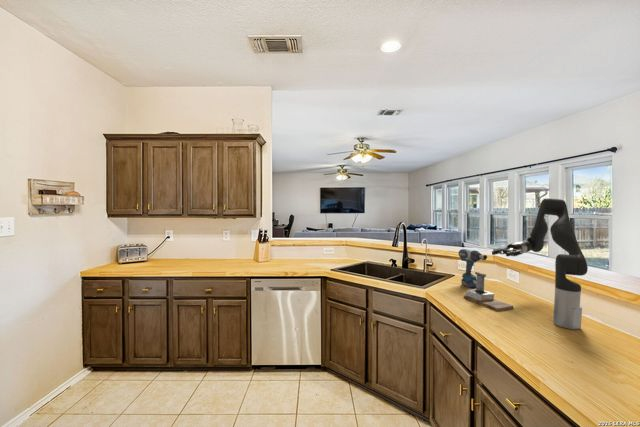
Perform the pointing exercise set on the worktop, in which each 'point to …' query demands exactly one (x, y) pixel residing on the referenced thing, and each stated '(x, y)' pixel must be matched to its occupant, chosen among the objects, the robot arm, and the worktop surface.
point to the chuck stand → (486, 300)
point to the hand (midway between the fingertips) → (499, 253)
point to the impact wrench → (470, 265)
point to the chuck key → (480, 282)
